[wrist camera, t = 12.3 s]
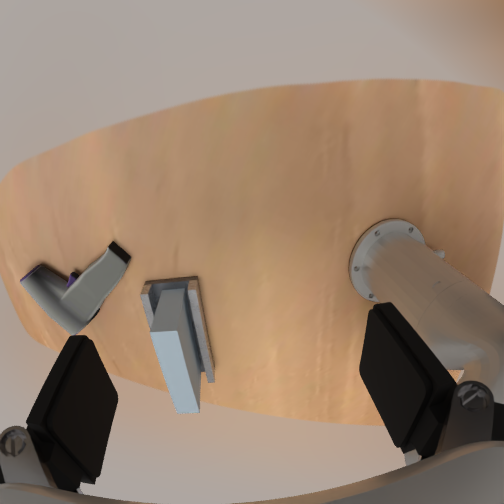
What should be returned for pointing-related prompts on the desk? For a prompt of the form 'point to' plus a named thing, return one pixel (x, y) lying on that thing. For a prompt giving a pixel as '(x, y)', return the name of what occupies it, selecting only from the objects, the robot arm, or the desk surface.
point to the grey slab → (177, 350)
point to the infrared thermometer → (77, 289)
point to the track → (193, 295)
